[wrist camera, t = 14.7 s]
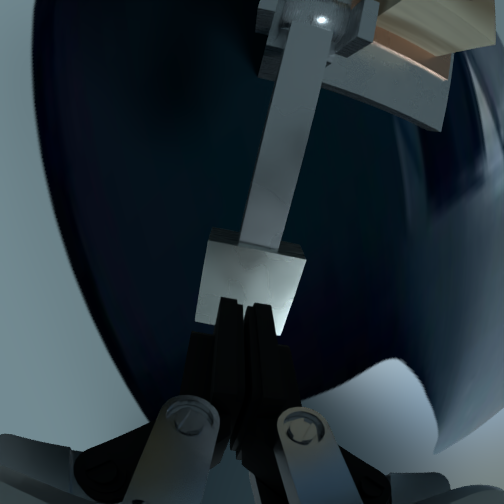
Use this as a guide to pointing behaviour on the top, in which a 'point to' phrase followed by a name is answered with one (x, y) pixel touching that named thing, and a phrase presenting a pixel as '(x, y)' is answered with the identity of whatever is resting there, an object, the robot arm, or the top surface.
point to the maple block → (440, 23)
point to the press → (371, 65)
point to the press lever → (275, 174)
